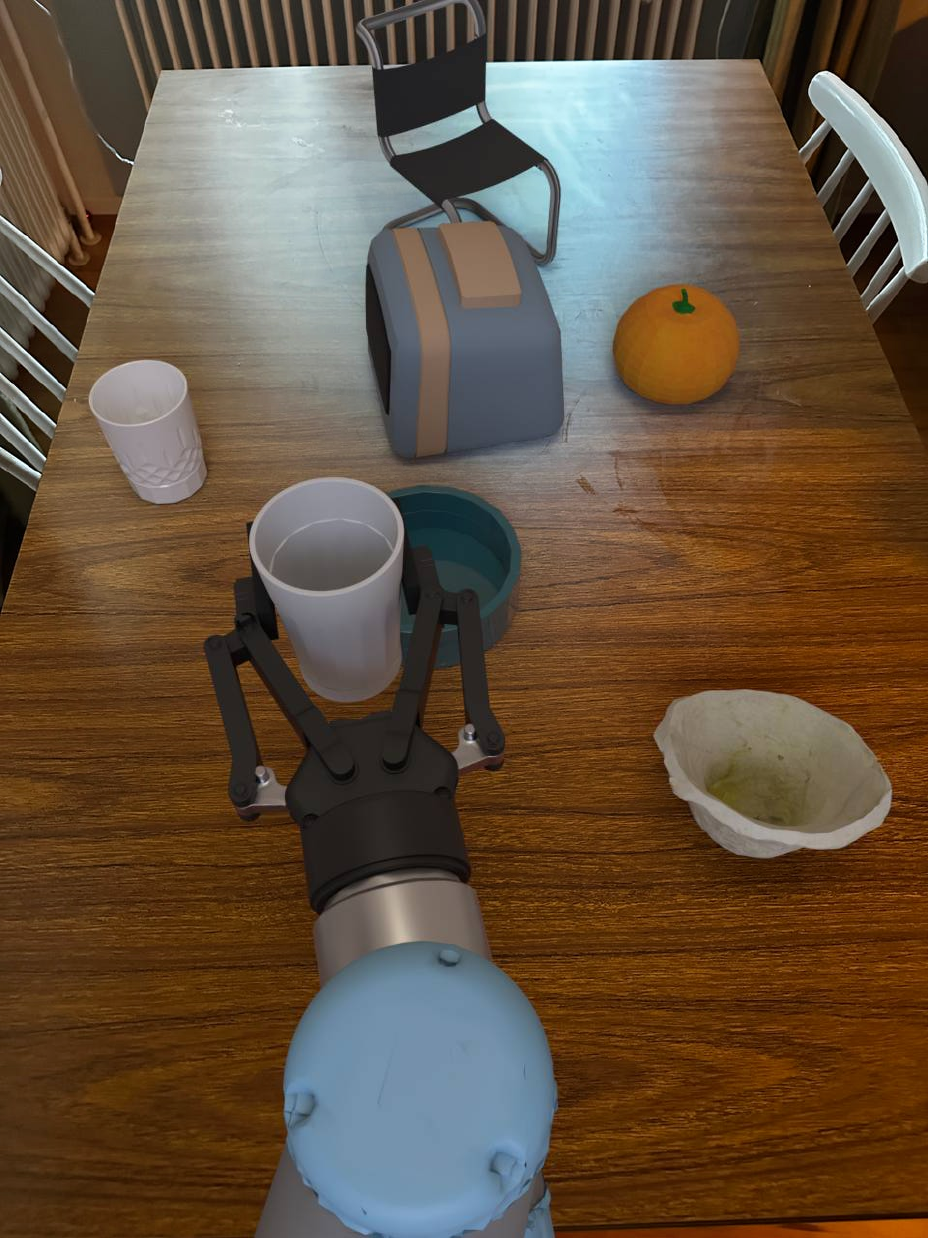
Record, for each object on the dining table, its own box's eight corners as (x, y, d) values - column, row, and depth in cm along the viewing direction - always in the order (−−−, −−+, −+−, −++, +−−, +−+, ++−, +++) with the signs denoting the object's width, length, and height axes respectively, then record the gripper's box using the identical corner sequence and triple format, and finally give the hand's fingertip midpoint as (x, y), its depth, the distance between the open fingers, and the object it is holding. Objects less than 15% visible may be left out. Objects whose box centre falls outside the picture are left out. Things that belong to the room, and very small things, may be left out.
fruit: (628, 429, 89) (644, 342, 80) (593, 347, 95) (604, 259, 87) (748, 410, 90) (775, 322, 82) (704, 331, 96) (726, 243, 88)
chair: (464, 196, 110) (463, -16, 92) (557, 272, 102) (576, 55, 84) (368, 235, 106) (348, 20, 88) (457, 317, 98) (455, 99, 80)
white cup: (108, 475, 86) (70, 389, 77) (182, 432, 89) (153, 346, 80) (156, 524, 82) (121, 440, 74) (231, 478, 85) (206, 393, 77)
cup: (322, 736, 56) (290, 620, 46) (264, 640, 60) (224, 514, 50) (438, 675, 58) (432, 553, 48) (376, 586, 62) (358, 456, 52)
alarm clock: (366, 353, 95) (350, 205, 82) (525, 331, 97) (534, 183, 84) (393, 471, 86) (379, 326, 73) (568, 444, 88) (586, 298, 74)
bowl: (852, 735, 70) (903, 664, 62) (853, 921, 63) (911, 867, 54) (650, 696, 72) (673, 622, 64) (626, 872, 65) (649, 812, 56)
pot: (355, 685, 73) (348, 650, 69) (327, 541, 81) (320, 502, 77) (539, 649, 75) (542, 612, 71) (493, 511, 83) (495, 471, 79)
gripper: (188, 973, 45) (168, 593, 58) (599, 881, 48) (492, 536, 60) (144, 925, 39) (131, 511, 52) (618, 822, 41) (494, 451, 54)
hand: (326, 525), depth 56 cm, fingers closed on cup, 7 cm apart
